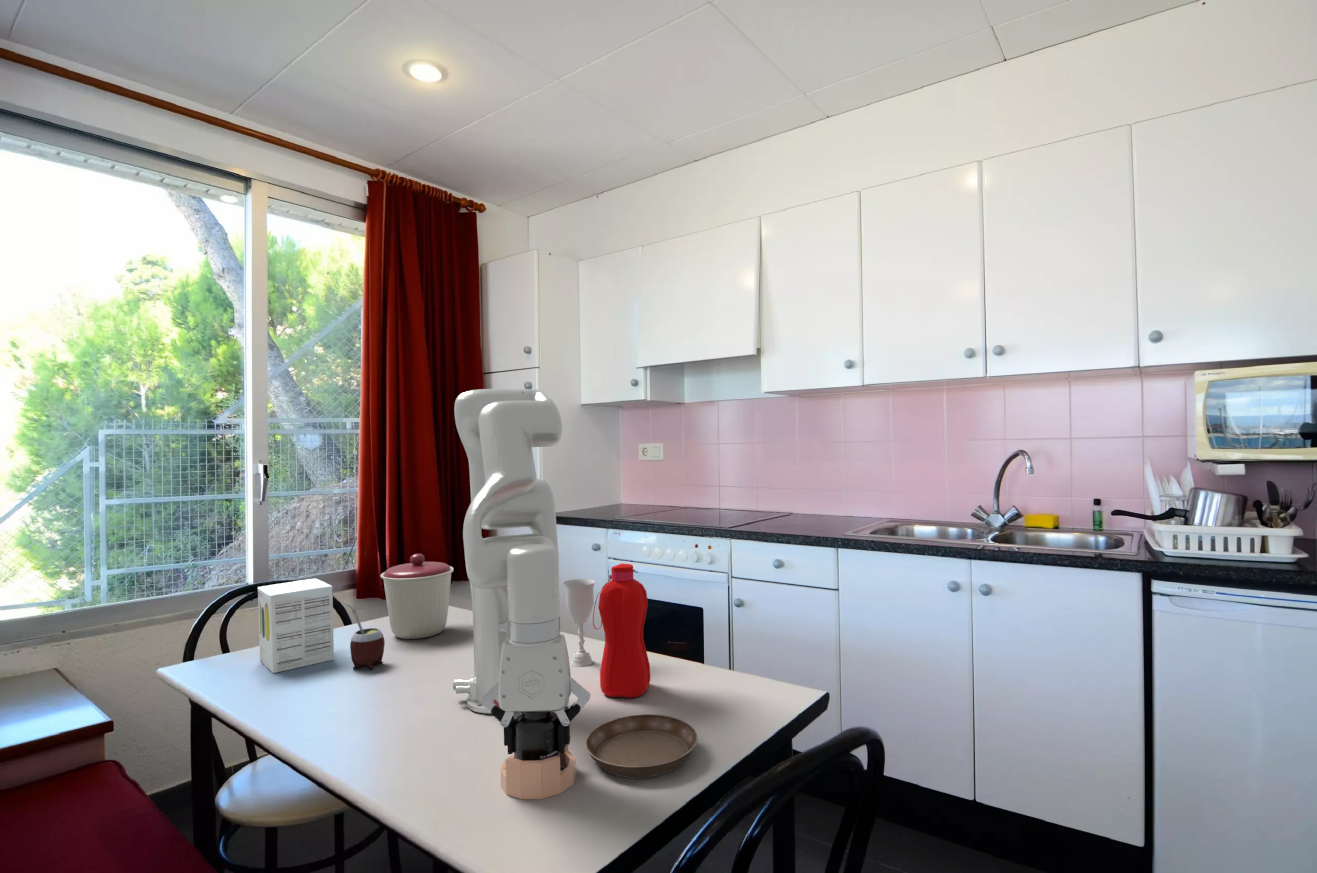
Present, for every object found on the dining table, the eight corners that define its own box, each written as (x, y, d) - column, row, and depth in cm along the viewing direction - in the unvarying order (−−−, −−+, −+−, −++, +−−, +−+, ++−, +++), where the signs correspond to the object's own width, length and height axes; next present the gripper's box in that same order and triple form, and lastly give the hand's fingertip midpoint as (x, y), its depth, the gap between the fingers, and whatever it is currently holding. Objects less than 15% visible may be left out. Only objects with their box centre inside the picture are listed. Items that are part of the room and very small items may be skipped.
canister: (367, 643, 168) (365, 560, 168) (406, 623, 186) (404, 548, 186) (434, 645, 165) (431, 560, 165) (467, 624, 183) (464, 548, 183)
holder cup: (493, 800, 93) (492, 764, 93) (511, 763, 104) (510, 730, 104) (569, 798, 93) (568, 762, 93) (579, 761, 104) (578, 729, 104)
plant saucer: (608, 797, 94) (607, 775, 94) (572, 745, 110) (571, 727, 110) (718, 768, 101) (718, 748, 101) (669, 723, 117) (669, 706, 117)
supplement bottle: (551, 791, 95) (549, 707, 95) (506, 787, 96) (504, 704, 96) (567, 767, 101) (565, 689, 101) (525, 764, 103) (523, 686, 103)
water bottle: (601, 680, 138) (598, 559, 138) (653, 683, 136) (650, 560, 136) (587, 698, 129) (584, 568, 129) (643, 701, 127) (639, 569, 127)
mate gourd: (388, 667, 150) (386, 600, 150) (349, 675, 145) (347, 606, 146) (380, 658, 156) (378, 594, 156) (343, 666, 152) (342, 600, 152)
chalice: (604, 660, 150) (601, 580, 150) (585, 670, 145) (582, 587, 145) (578, 655, 154) (576, 577, 154) (559, 664, 148) (556, 583, 148)
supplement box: (258, 660, 157) (256, 586, 157) (318, 647, 166) (316, 577, 166) (272, 674, 148) (269, 595, 148) (335, 659, 156) (333, 585, 156)
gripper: (468, 638, 95) (471, 763, 95) (590, 636, 95) (593, 761, 95) (482, 623, 102) (485, 739, 103) (595, 620, 102) (598, 736, 102)
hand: (537, 748), depth 99 cm, fingers closed on supplement bottle, 6 cm apart
